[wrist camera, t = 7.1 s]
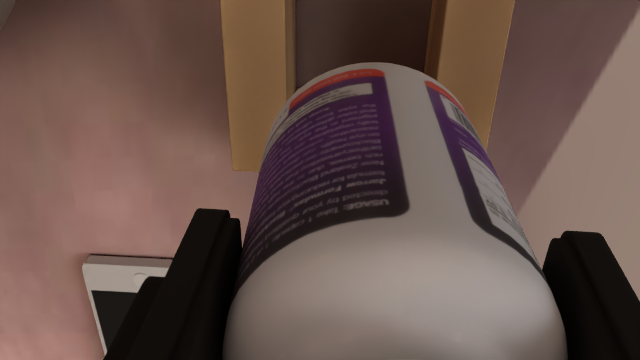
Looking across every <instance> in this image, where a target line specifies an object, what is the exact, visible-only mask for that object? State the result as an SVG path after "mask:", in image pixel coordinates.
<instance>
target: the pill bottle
mask: <svg viewBox="0 0 640 360" xmlns="http://www.w3.org/2000/svg"><path fill="white" fill-rule="evenodd" d="M222 360H568V351H567V340H566V333H565V328H564V324H563V321H562V318H561V315H560V312H559V310H558V307H557V305H556V302H555V299H554V296H553V294H552V291H551V289H550V287H549V285H548V283H547V280H546V278H545V276H544V274H543V272H542V270H541V268H540V266H539V263H538V261H537V259H536V257H535V255H534V253H533V251H532V249H531V247H530V245H529V243H528V240H527V238H526V237H525V234H524V232H523V230H522V228H521V226H520V223H519V221H518V219H517V217H516V215H515V213H514V210H513V208H512V206H511V204H510V202H509V200H508V198H507V196H506V193H505V191H504V189H503V187H502V185H501V183H500V180H499V178H498V176H497V174H496V172H495V170H494V168H493V166H492V163H491V161H490V159H489V157H488V155H487V153H486V151H485V149H484V147H483V145H482V143H481V141H480V138H479V136H478V134H477V132H476V129H475V127H474V125H473V124H472V122H471V120H470V118H469V117H468V115H467V113H466V112H465V110H464V108H463V107H462V105H461V104H460V102H459V101H458V100H457V98H456V97H455V96H454V95H453V94H452V93H451V92H450V91H449V90H447V89H446V88H445V87H444V86H443V85H442V84H440V83H439V82H437V81H436V80H435V79H433V78H431V77H430V76H428V75H426V74H424V73H422V72H420V71H417V70H414V69H412V68H409V67H406V66H402V65H397V64H392V63H381V62H368V63H357V64H351V65H346V66H343V67H339V68H336V69H333V70H330V71H328V72H326V73H323V74H321V75H319V76H317V77H316V78H314V79H312V80H311V81H309V82H308V83H306V84H305V85H304V86H302V87H301V88H300V89H298V90H297V91H296V92H295V93H294V94H293V95H292V96H291V97H290V98H289V99H288V101H287V102H286V103H285V104H284V106H283V107H282V109H281V110H280V112H279V113H278V115H277V117H276V118H275V120H274V122H273V125H272V127H271V130H270V133H269V136H268V139H267V142H266V146H265V149H264V153H263V158H262V162H261V167H260V172H259V177H258V181H257V186H256V191H255V195H254V200H253V204H252V208H251V213H250V218H249V222H248V226H247V230H246V234H245V239H244V243H243V248H242V253H241V257H240V261H239V266H238V270H237V275H236V279H235V283H234V287H233V292H232V297H231V301H230V305H229V310H228V315H227V321H226V327H225V333H224V340H223V349H222Z"/></svg>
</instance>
